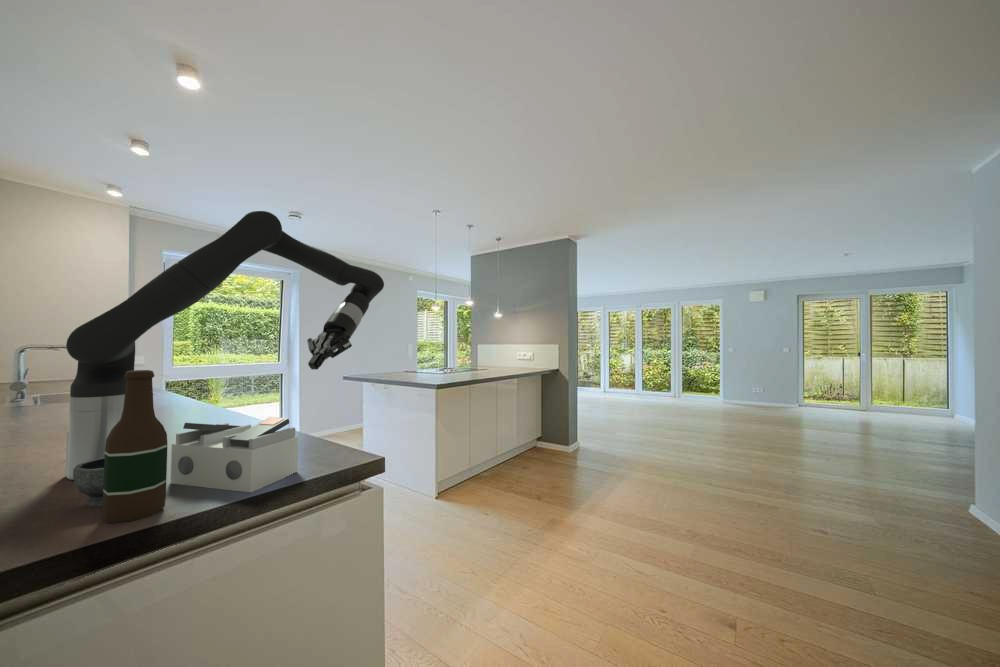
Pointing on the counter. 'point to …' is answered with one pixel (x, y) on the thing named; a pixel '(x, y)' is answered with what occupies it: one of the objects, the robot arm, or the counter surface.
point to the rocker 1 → (208, 426)
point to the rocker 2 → (259, 430)
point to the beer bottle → (135, 456)
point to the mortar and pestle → (90, 480)
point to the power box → (233, 459)
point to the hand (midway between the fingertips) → (312, 367)
